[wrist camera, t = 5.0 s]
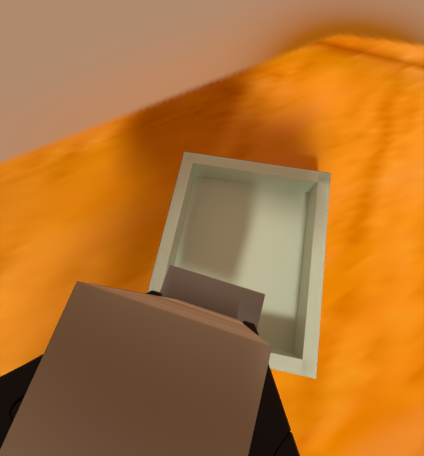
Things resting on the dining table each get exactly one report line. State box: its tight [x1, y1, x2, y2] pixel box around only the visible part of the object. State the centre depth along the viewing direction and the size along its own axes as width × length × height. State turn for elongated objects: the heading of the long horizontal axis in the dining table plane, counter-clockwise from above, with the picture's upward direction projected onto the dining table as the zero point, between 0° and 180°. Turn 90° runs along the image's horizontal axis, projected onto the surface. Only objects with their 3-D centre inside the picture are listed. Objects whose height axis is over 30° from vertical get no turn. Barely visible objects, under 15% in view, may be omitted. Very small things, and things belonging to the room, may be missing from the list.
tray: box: [148, 152, 331, 379], centre depth 22 cm, size 16×13×3 cm
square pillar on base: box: [0, 265, 272, 456], centre depth 9 cm, size 6×5×12 cm
